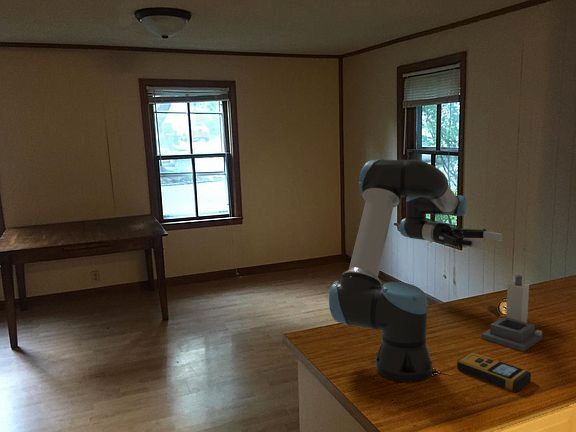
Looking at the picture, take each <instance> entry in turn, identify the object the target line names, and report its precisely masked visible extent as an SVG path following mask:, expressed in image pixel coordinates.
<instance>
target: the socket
mask: <svg viewBox="0 0 576 432" xmlns="http://www.w3.org/2000/svg"><path fill="white" fill-rule="evenodd" d="M535 326H536V324H532V323H528V322H527V323H525V322H522V321H518V320H514V319H511V318H507V317H506V316H503V317H502V318H499V319H497V320H496V321H494V322H492V323H490V324H489V327H490V329H487V330H485V331H484V332H482V333H480V334H481V335H480V337H481V339H483V340H485V341H489V342H492V343H494V342H495V344H498V345H501V346H504V347H507V348H510V349H513V350H516V351H520V352H525V351H527V350H528V349H529V348H531V347H533V346H534V345H536V344H537V343H539V342H540V341H542V340H543V338H544V334H543V331H542V330H539V329H535V328H536V327H535Z"/></svg>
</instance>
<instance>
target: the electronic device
mask: <svg viewBox="0 0 576 432" xmlns="http://www.w3.org/2000/svg"><path fill="white" fill-rule="evenodd" d="M456 368H457V371H459V372H461V373H464V374H467V375H469V376H473V377H475V378H477V379H480V380H483V381H485V382H487V383H490V384H493V385H495V386H498V387H500V388H503V389H507V390H510V391H513V392H515V393H518V392H519V391H520V390H522V389H523V388H525V387H526V386H527V385H528V384H530V383H531V381H532V372H531V371H528V370H525V369H523V368H520V367H518V366H514V365H511V364H508V363H506V362H502V361H500V360H497V359H494V358H491V357H488V356H485V355H481V354H479V353H476V352H469V353H468V354H466V355H465V356H463V357H461V358H460V359H457V362H456Z"/></svg>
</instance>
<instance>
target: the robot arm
mask: <svg viewBox="0 0 576 432" xmlns="http://www.w3.org/2000/svg"><path fill="white" fill-rule="evenodd" d="M358 180H359V182H358V189H359V192H360V195H361V196H362V199H363V200H364V202H365V203H364V207H363V210H362V211H363V212H362V216H361V218H360V223H359V227H358V231H357V235H356V239H355V244H354V247H353V251H352V255H351V260H350V263H349V266H348V267H349V268H348V270H346V271H344V272H343V273H341V278H340V280H336V281H334V282H333V283H332V284H331V286H330V288H329V296H328V305H329V306H328V307H329V312H330V314H331V317H332V319H334V321H335V322H336V323H340V324H345V325H347V326H354V327H361V328H366V329H373V330H377V331H381V342H380V346H379V349H378V351H377V354H376V356H375V370H376V372H377V373H378V374H379V375H381V376H382V377H384V378H386V379H387V380H388V379H389V380H391V381H396V382H399V383H416V382H417V383H419V382H422V381H424V380H426V379H429V378H430V377H431V376H432V374H433V361H432V359H431V355H430V353H429V352H430V351H429V349H428V345H427V324H428V323H427V318H428V315H427V313H428V306H427V305H428V304H427V303H428V302H427V296H426V293H425V292H424V290H422V289H421V288H420V287H418V286H416V285H414V284H411V283H406V282H402V281H396V282H395V281H387V282H386V283H382V282H381V280H380V279H379V273H380V268H381V265H382V259H383V255H384V250H385V246H386V241H387V237H388V231H389V227H390V223H391V219H392V215H393V208H396V207H397V206H399V204H400V201H401V198H406V199H405V208H406V209H405V210H406V212H405V218H403V219H401V221H400V223H399V224H400V225H399V226H398V229H399V233H400V234H401V235H402V236H403V237H406V238H409V239H414V240H420V241H421V240H422V241H427V242H428V241H429V243H437V244H438V243H439V244H444V245H445V244H449V245H451V246H454V247H458V248H460V249H461V248H462V249H463V247H469V248H473V249H474V248H475V249H480V250H482V249H483V241H484V240H488V241H494V242H499V243H500V242H502V241H503V233H499V232H492V231H487V230H486V228H483V229H474V228H473V229H471V228H460V227H459V228H452V226H451V225H450V224H449V223H443V222H437V221H432V220H431V221H430V220H426V219H427V215H436V216H439V215H440V216H454V217H458V216H459V217H461V216H465V214H466V213H467V206H468V205H467V204H468V202H467V201H468V200H467V197H466V196H465V195H460V194H459V195H458V194H457V195H456V194H455V193H454V191H453V189H451V187H450V186H449V180H448V178H447V176H446V174H445V173H444V172H443V171H442V170H440V169H439V168H437V167H436V166H434V165H432V164H430V163H428V162H425V161H422V160H419V159H383V158H379V159H372V160H369V161H367V162H366V163H365V164H364V165H363V167H362V169H361V170H360V174H359V178H358ZM481 239H483V240H481ZM382 284H383V285H382Z"/></svg>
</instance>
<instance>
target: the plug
mask: <svg viewBox="0 0 576 432" xmlns="http://www.w3.org/2000/svg"><path fill="white" fill-rule="evenodd" d="M529 294H530V284H527V283H523V275H520V274H515V281H513V282H510V283H508V284H507V292H506V296H507V297H506V313H505V317H507V318H511V319H514V320H518V321H522V322H525V323H528V312H529Z"/></svg>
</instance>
